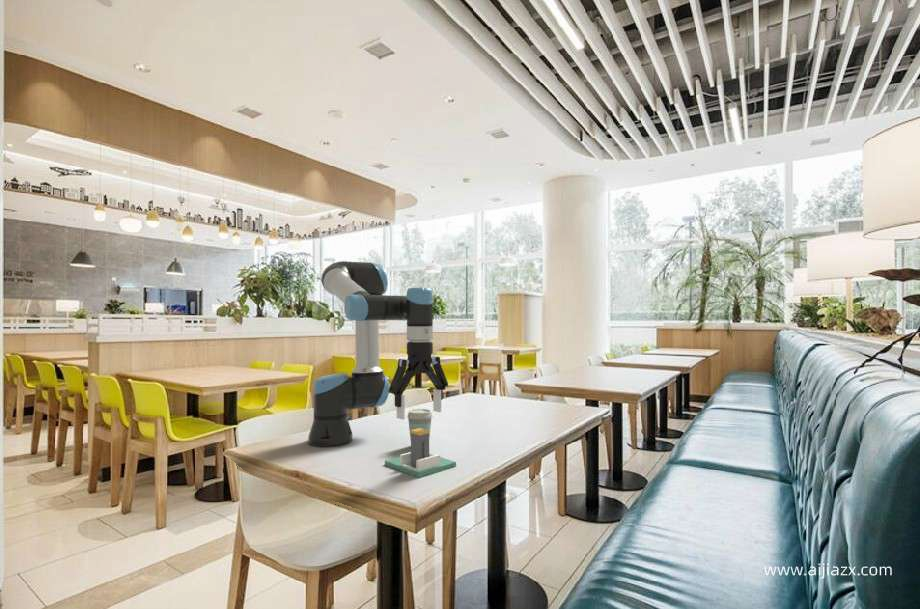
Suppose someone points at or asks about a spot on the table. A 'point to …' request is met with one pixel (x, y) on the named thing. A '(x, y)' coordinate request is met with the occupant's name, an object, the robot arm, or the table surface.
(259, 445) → the table surface
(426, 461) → the board
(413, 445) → the plug
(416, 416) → the coffee cup
